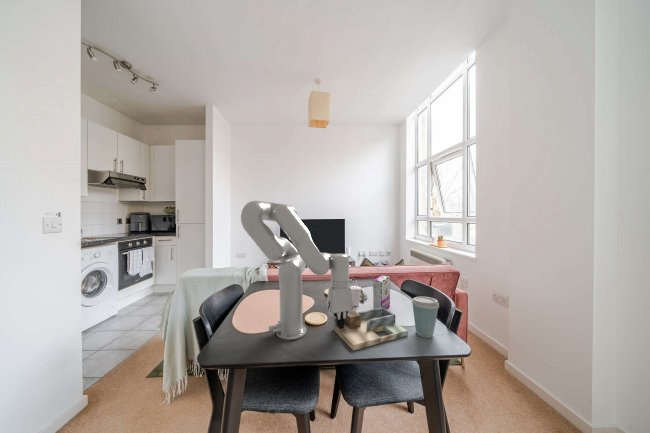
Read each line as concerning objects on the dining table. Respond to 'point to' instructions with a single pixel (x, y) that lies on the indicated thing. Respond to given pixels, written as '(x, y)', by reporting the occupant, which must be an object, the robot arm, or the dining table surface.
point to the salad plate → (363, 296)
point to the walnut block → (353, 320)
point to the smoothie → (355, 294)
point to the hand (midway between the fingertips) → (340, 327)
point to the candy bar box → (381, 292)
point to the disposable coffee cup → (425, 315)
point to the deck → (371, 329)
